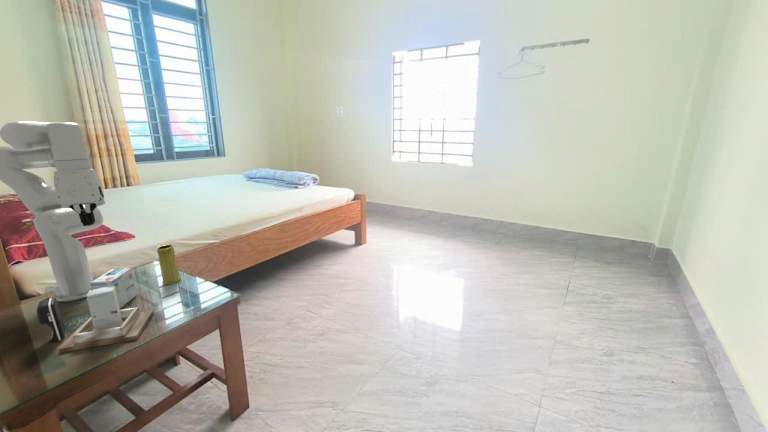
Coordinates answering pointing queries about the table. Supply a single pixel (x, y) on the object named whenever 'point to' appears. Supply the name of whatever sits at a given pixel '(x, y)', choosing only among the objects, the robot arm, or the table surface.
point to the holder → (108, 331)
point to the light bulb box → (118, 284)
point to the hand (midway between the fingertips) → (89, 224)
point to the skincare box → (104, 308)
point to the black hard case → (51, 318)
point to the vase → (168, 264)
